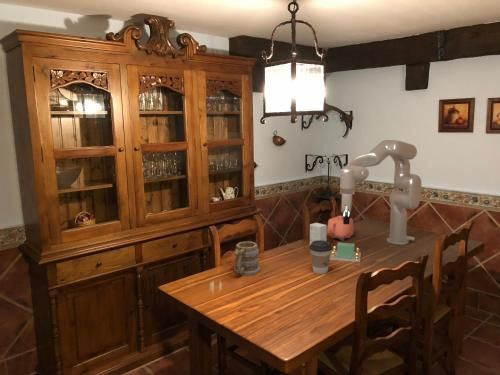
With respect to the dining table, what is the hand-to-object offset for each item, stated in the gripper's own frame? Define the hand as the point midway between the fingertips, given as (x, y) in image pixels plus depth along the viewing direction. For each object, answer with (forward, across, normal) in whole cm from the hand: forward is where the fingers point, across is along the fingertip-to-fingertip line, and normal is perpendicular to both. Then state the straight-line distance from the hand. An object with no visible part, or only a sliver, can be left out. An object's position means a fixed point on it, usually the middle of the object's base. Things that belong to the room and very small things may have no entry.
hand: (346, 221), depth 229 cm
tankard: (+19, +36, -48) cm, 63 cm away
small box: (+20, -16, -17) cm, 31 cm away
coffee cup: (+20, +24, -11) cm, 34 cm away
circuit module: (+19, 0, 0) cm, 19 cm away
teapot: (+21, -34, -6) cm, 41 cm away
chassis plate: (+20, 0, 0) cm, 20 cm away
